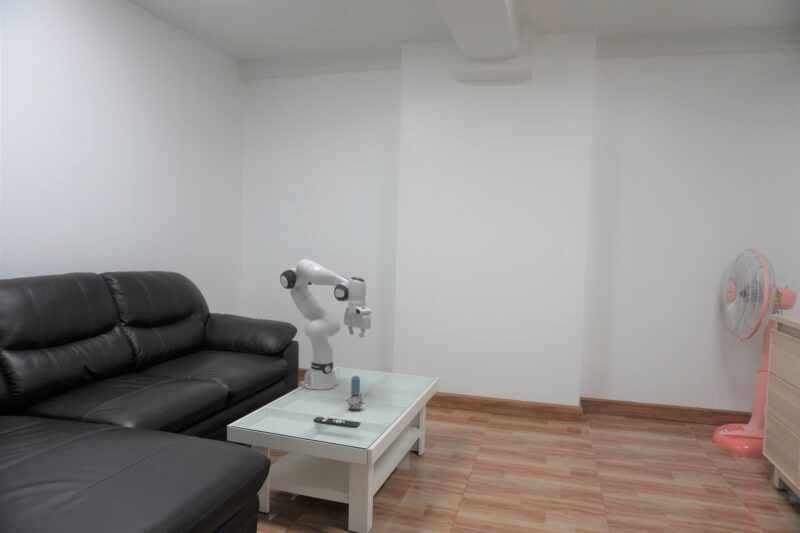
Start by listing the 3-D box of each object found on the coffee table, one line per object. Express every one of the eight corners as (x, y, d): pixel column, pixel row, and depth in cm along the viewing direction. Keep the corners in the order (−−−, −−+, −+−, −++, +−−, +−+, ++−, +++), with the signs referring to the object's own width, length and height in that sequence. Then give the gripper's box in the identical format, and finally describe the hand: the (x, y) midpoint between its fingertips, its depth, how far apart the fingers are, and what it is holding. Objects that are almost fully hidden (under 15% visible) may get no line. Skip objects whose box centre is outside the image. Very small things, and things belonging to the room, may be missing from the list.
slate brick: (351, 392, 271) (351, 375, 270) (359, 392, 271) (360, 375, 270) (351, 394, 267) (351, 377, 266) (359, 395, 267) (359, 377, 266)
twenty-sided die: (358, 416, 270) (370, 400, 271) (351, 415, 263) (364, 398, 264) (345, 405, 274) (358, 388, 275) (339, 403, 267) (351, 386, 267)
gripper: (341, 307, 288) (340, 333, 288) (362, 311, 271) (362, 339, 272) (351, 306, 291) (350, 332, 292) (373, 310, 275) (372, 338, 276)
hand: (356, 335), depth 282 cm, fingers open, 8 cm apart
